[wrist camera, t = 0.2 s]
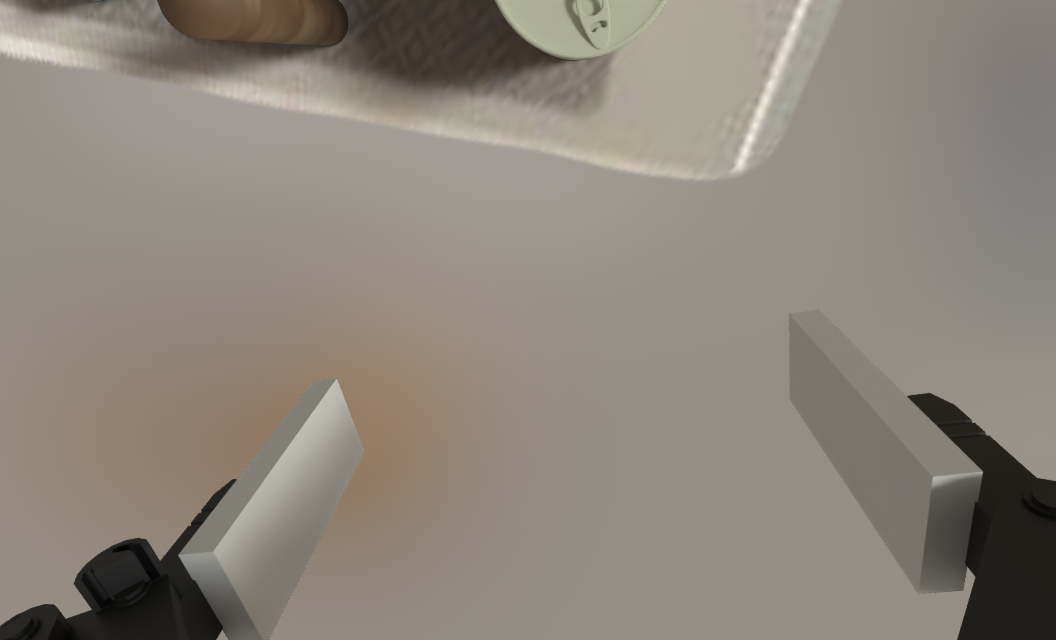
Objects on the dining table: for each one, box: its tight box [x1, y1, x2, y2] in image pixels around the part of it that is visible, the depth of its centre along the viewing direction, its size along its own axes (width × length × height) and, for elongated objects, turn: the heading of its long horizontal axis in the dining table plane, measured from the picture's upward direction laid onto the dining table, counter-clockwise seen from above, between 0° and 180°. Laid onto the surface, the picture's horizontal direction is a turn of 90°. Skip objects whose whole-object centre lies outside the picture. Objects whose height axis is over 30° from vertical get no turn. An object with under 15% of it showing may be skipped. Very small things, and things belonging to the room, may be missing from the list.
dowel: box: [157, 0, 348, 46], centre depth 32 cm, size 3×3×15 cm
